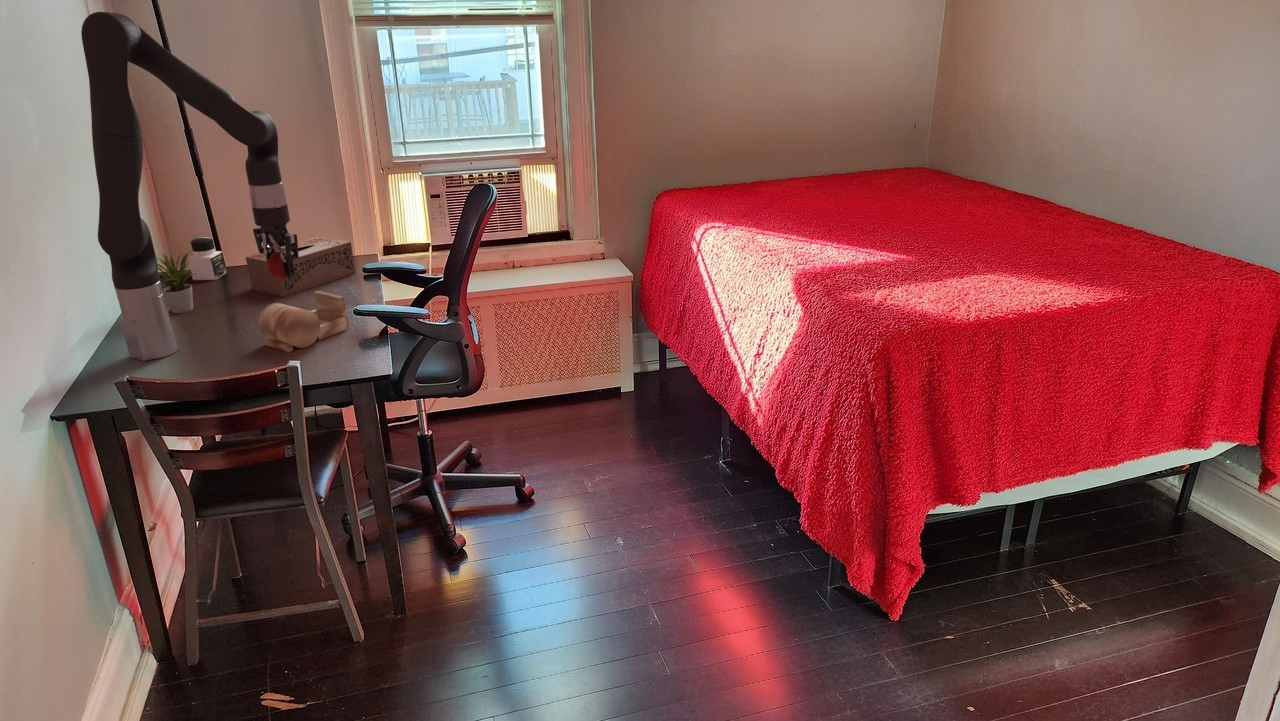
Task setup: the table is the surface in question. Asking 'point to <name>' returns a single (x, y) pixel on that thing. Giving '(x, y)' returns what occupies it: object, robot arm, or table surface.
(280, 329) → the roller
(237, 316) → the table surface
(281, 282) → the tissue box cover
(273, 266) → the onion
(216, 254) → the medicine bottle
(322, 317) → the pit walls
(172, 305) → the house plant
